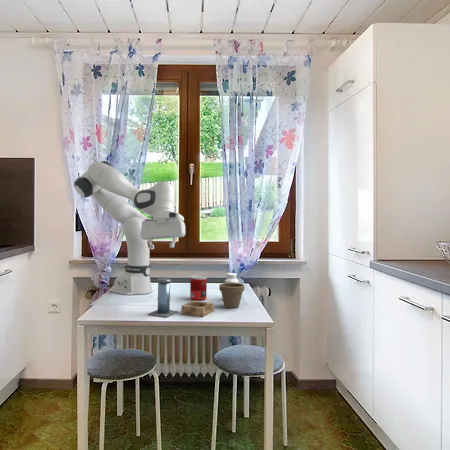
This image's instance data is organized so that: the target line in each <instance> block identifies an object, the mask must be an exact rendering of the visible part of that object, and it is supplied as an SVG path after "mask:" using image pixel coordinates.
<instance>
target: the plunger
mask: <svg viewBox="0 0 450 450" xmlns="http://www.w3.org/2000/svg"><path fill="white" fill-rule="evenodd" d="M156 281H157V310H158V311H157V313H159V314H167V313H169V312H170V310H171V309H170V305H171V302H170V301H171V282H172V279H171V278H165V277H163V278H162V277H161V278H160V277H159V278H157V279H156Z"/></svg>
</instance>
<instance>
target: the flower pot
mask: <svg viewBox="0 0 450 450" xmlns="http://www.w3.org/2000/svg"><path fill="white" fill-rule="evenodd" d="M245 287H246V285H245V284H243V283H225V282H222V283H220V284H219V287H218V288H219V291H220V292H221V296H222V302H223V306H224V307H225V308H227V309H237V308H238V309H239V307H240V303H241V300H242V295H243V292H244V291H245Z"/></svg>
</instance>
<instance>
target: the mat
mask: <svg viewBox="0 0 450 450" xmlns="http://www.w3.org/2000/svg"><path fill="white" fill-rule="evenodd" d="M157 311H158V309H156V310H153V311H151V312H149V313H148V314H147V315H148V316H153V317H158V316H159V318H168V319H169V318H170V317H171V316H173V315H175V314H176V315H177V314H178V313H179V310H172V309H170V312H169V313H167V314H159V313H157Z"/></svg>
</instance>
